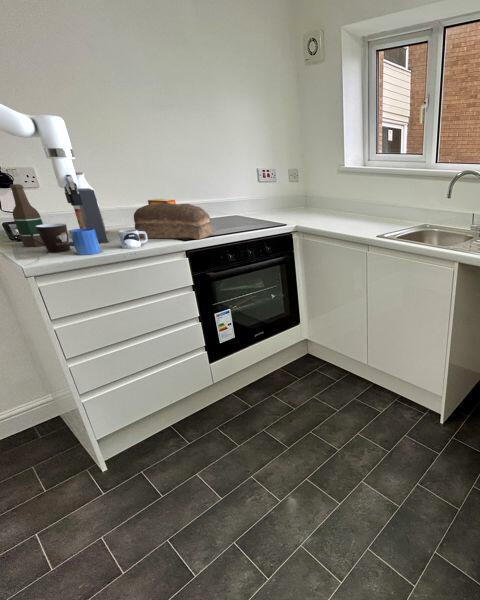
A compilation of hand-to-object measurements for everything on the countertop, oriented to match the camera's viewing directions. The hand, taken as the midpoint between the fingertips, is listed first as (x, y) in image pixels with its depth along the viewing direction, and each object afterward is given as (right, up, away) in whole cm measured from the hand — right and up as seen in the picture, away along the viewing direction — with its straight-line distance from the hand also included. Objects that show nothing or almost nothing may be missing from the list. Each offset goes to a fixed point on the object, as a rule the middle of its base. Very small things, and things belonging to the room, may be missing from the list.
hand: (75, 204), depth 130 cm
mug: (+8, -13, +20) cm, 25 cm away
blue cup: (-1, -17, +7) cm, 19 cm away
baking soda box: (0, 0, +52) cm, 52 cm away
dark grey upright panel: (-18, -10, +23) cm, 31 cm away
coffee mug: (-15, -17, +7) cm, 24 cm away
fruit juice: (-29, -3, +41) cm, 50 cm away
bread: (+12, -5, +41) cm, 42 cm away
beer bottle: (-30, -13, +15) cm, 37 cm away
